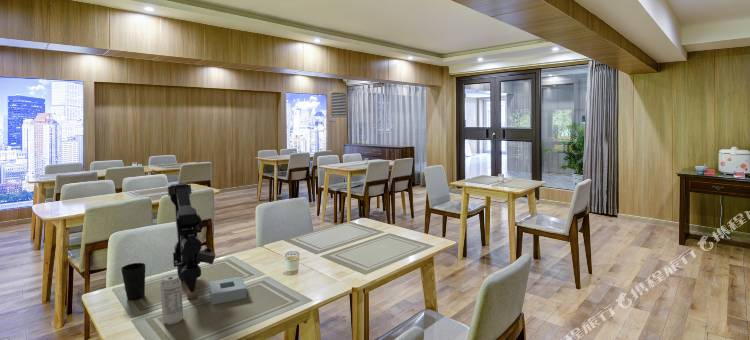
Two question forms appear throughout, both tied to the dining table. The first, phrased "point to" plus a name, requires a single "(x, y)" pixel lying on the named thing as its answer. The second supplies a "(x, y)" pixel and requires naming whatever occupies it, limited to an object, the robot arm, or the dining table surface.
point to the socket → (227, 290)
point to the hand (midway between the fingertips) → (192, 287)
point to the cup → (134, 280)
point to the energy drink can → (171, 299)
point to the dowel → (192, 293)
